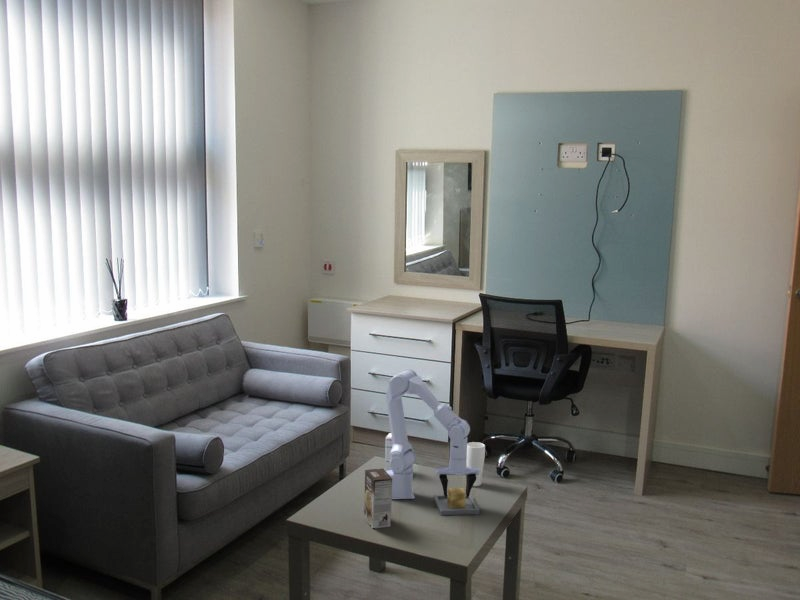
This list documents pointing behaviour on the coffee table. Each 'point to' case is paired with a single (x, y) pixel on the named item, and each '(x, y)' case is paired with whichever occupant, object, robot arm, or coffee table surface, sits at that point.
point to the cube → (456, 497)
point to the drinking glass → (476, 459)
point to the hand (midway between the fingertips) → (456, 495)
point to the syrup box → (388, 451)
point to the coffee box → (378, 498)
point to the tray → (446, 510)
